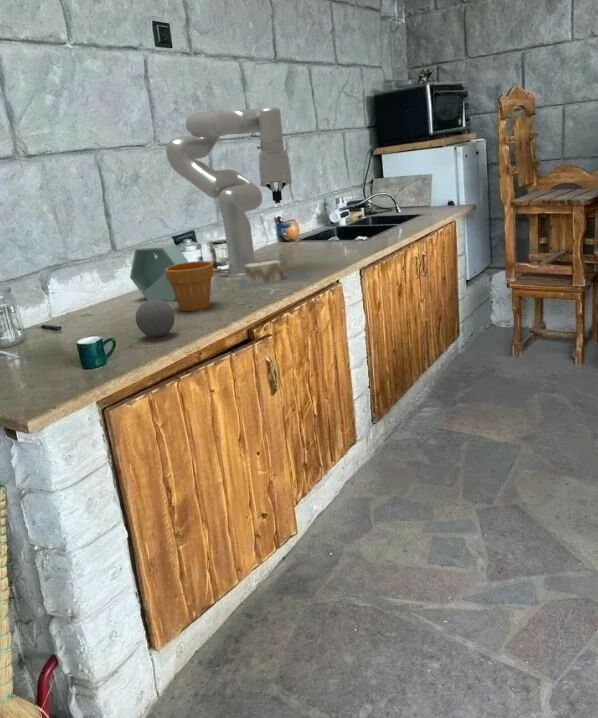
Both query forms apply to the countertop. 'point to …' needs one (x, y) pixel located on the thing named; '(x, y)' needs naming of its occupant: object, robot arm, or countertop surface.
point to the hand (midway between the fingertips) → (277, 202)
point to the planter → (155, 270)
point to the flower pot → (191, 284)
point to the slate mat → (286, 278)
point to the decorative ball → (155, 318)
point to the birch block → (263, 272)
